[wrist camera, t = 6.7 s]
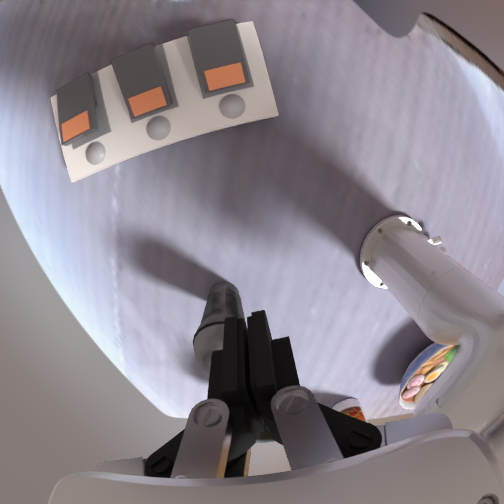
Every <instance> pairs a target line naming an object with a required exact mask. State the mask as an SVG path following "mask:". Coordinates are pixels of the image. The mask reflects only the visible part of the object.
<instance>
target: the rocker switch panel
mask: <svg viewBox="0 0 504 504" xmlns="http://www.w3.org/2000/svg"><path fill="white" fill-rule="evenodd" d="M235 25H236V29H237V32H238V36H239V40H240V44H241V48H242V52H243V55H244V59H245V63H246V67H247V71H248V76H249V80H250V83H247V84H242V85H238V86H234V87H229V88H225V89H221V90H217V91H214V92H210V93H206V94H205V90H204V87H203V83H202V79H201V76H200V72H199V68H198V65H197V61H196V58H195V54H194V50H193V47H192V43H191V39H190V36H189V35H187V36H185V37H182V38H179V39H176V40H172V41H169V42H166V43H162V44H159V45H156V46H155V48H156V51H157V55H158V58H159V61H160V64H161V67H162V70H163V73H164V77H165V80H166V83H167V86H168V89H169V92H170V95H171V98H172V101H173V103H172V105H170V106H167V107H164V108H161V109H158V110H155V111H153V112H150V113H147V114H145V115H142V116H139V117H137V118H134V119H131V116H130V114H129V111H128V108H127V106H126V103H125V101H124V98H123V95H122V92H121V90H120V87H119V84H118V81H117V79H116V76H115V73H114V70H113V67H112V64H111V65H109V66H107V67H105V68H103V69H101V70H99V71H96V72H94V73H92V74H91V75H92V79H93V90H94V97H95V99H96V101H97V107H96V115H97V122H98V129H99V130H98V131H96V132H94V133H92V134H89V135H87V136H85V137H83V138H81V139H79V140H77V141H76V142H74V143H72V144H70V145H68V146H63V145H61V147H62V151H63V155H64V159H65V162H66V166H67V169H68V172H69V176H70V179H71V182H72V183H73V182H75V181H78V180H80V179H83V178H85V177H87V176H89V175H92V174H94V173H96V172H99V171H101V170H103V169H106V168H108V167H110V166H113V165H115V164H118V163H120V162H123V161H125V160H128V159H131V158H133V157H136V156H139V155H141V154H144V153H147V152H150V151H152V150H155V149H158V148H161V147H164V146H167V145H170V144H173V143H176V142H179V141H183V140H186V139H189V138H192V137H196V136H199V135H203V134H206V133H210V132H213V131H217V130H221V129H225V128H229V127H233V126H237V125H241V124H245V123H249V122H254V121H258V120H263V119H268V118H273V117H276V116H279V114H278V110H277V106H276V102H275V98H274V94H273V90H272V87H271V83H270V79H269V75H268V72H267V68H266V64H265V61H264V57H263V54H262V50H261V47H260V43H259V40H258V37H257V33H256V30H255V27H254V23H253V21H250V22H245V23H239V24H235ZM51 103H52V108H53V113H54V118H55V122H56V127H57V131H58V135H59V140H60V144H61V138H60V130H59V120H58V107H57V94H56V95H54V96H53V97H51Z"/></svg>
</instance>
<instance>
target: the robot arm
mask: <svg viewBox="0 0 504 504" xmlns="http://www.w3.org/2000/svg"><path fill="white" fill-rule="evenodd" d="M378 229H379V230H378ZM441 242H442V241H441V237H440V236H437V237H433V238H431V239H430V238H428V237H427V236H425V235H424V232H423V230H422V228H421V226H420V225H419V224H418V223H417V222H416V221H414V220H413V219H411V218H409V217H407V216H403V215H394V216H390V217H387V218H385V219H383V220H382V221H380V222H379V223H377V224H376V225H375V226H374V227H373V228H372V229H371V230H370V232H369V233H368V234H367V236H366V238H365V240H364V242H363V244H362V247H361V251H360V267H361V270H362V273H363V275H364V276H365V278H366V279H367V280H368V281H369V282H370V283H371V284H373V285H374V286H376V287H379V288H387V289H388V290H389V291H390V292H391V293H392V294H393V296H394V297H395V298H396V299H397V300H398V301H399V303H400V304H401V305H402V306H403V307H404V309H405V310H406V311H407V312H408V314H409V315H410V316H411V317H412V318H413V320H414V321H415V322H416V323H417V325H418V326H419V327H420V328H421V330H422V331H423V332H424V334H425V335H426V336H427V337H428V338H429V339H431V340H432V341H434V342H436V343H438V344H442V345H460V348H459V350H458V352H457V353H456V355H455V356H454V358H453V359H452V361H451V362H450V363H449V365H448V366H447V367H446V369H445V370H444V371H443V372H442V373H441V375H440V376H439V377H438V378H437V379H436V381H435V382H434V383H433V384H432V385H431V386H430V388H429V389H428V390H427V391H426V392H425V394H424V395H423V396H422V397H421V398H420V400H419V401H418V403H417V405H416V407H415V409H414V412H413V418H408V419H403V420H398V421H391V422H385V425H380V426H374V425H372V424H370V423H368V422H365V421H362V420H359V419H357V418H354V417H352V416H349V415H346V414H344V413H341V412H339V411H336V410H334V409H332V408H329V407H327V406H324V405H322V404H320V403H317V402H316V399H315V397H314V395H313V394H312V392H311V391H310V390H309V389H307V388H305V387H302V386H300V384H299V379H298V375H297V370H296V366H295V361H294V357H293V353H292V348H291V344H290V339H289V336H288V337H284V338H279V339H274V340H272V337H271V333H270V329H269V325H268V321H267V317H266V313H265V310H261V311H257V312H252V316H250V317H247V325H248V330H247V326H246V323H245V320H244V318H240V319H239V316H238V315H237V316H232V317H227V318H225V320H224V336H223V349H222V350H216V351H213V352H212V356H211V366H210V376H209V387H208V398H207V399H206V400H204V401H201V402H199V403H198V404H196V405H195V406H194V407H193V408H192V410H191V412H190V414H189V417H188V421H187V424H186V427H185V429H184V430H183V431H181V432H180V433H179V434H178V435H176V436H175V437H174V438H173V439H171V440H170V441H169V442H167V443H166V444H165V445H163V446H162V447H161V448H159V449H158V450H157V451H155V452H154V453H153V454H152V455H150V456H149V457H148V458H146V459H145V458H143V457H138V458H131V459H122V460H114V461H104V462H100V463H99V464H98V465H96V467H95V468H94V470H93V472H82V473H76V474H72V475H68V476H66V477H64V478H62V479H61V480H59V481H58V483H57V484H56V486H55V487H54V489H53V491H52V493H51V496H50V498H49V501H48V504H504V296H503V295H501V294H499V293H498V292H497V291H495V290H494V289H492V288H491V287H489V286H488V285H487V284H485V283H484V282H483V281H481V280H480V279H479V278H477V277H476V276H475V275H474V274H472V273H471V272H470V271H468V270H467V269H466V268H465V267H463V266H462V265H461V264H459V263H458V262H457V261H455V260H454V259H453V258H451V257H450V256H448V255H447V252H446V249H445V248H444V247H443V246H442V247H439V248H437V247H436V245H439V244H441ZM263 420H264V421H263ZM264 422H265V425H266V427H267V429H268V431H270V433H271V436H272V438H273V440H275V441H277V442H278V443H280V444H282V445H283V446H284V449H285V452H286V455H287V458H288V461H289V464H290V467H291V470H292V471H287V472H280V473H273V474H265V475H257V476H248V471H249V464H250V457H251V446H253V445H254V444H255V443H256V440H257V439H260V432H263V431H264Z"/></svg>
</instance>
